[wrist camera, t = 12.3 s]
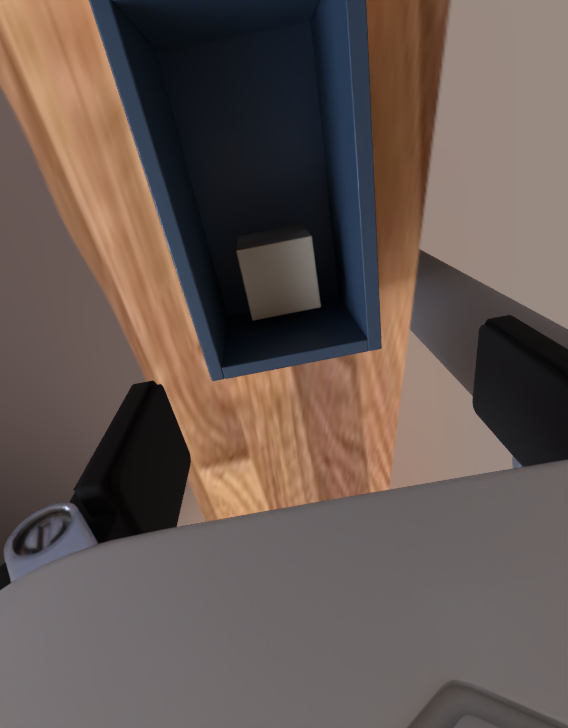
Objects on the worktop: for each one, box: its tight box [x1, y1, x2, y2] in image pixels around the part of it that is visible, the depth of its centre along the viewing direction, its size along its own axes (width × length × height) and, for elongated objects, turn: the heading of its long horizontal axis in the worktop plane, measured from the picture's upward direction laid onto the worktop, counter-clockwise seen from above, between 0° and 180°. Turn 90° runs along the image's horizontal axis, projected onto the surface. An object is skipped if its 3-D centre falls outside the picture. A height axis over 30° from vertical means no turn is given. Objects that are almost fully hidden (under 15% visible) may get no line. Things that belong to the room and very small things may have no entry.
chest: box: [89, 0, 382, 381], centre depth 19 cm, size 15×9×8 cm, turn 10°
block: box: [236, 224, 321, 320], centre depth 22 cm, size 4×4×4 cm
